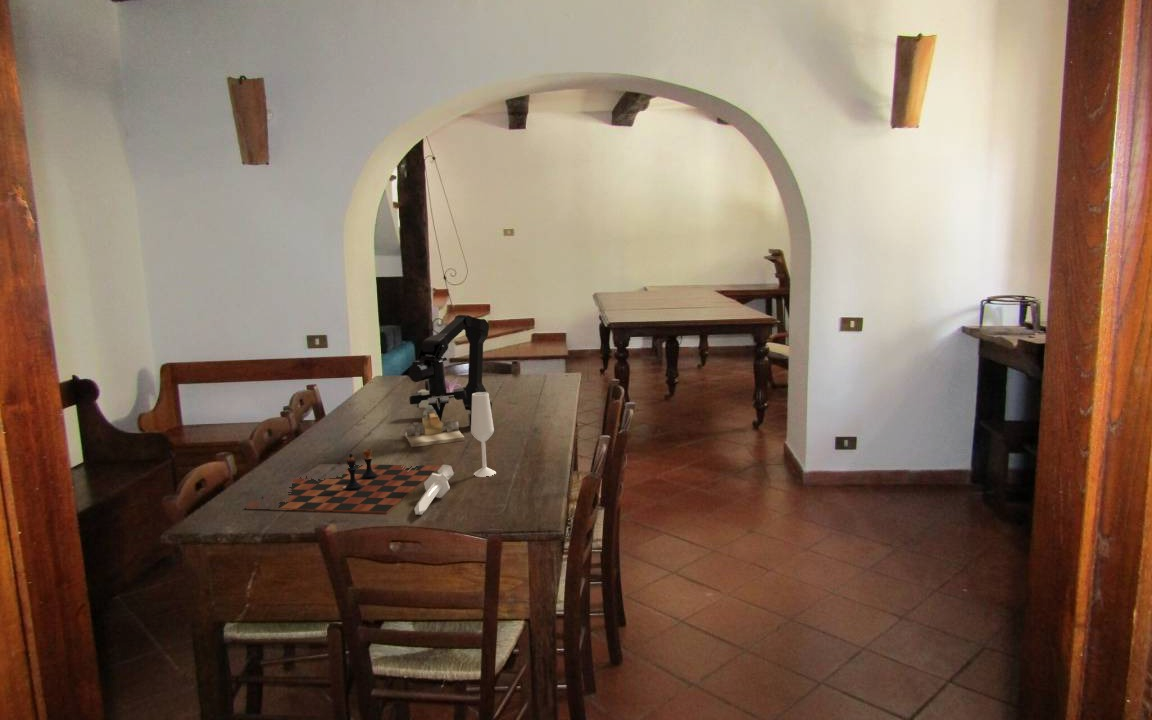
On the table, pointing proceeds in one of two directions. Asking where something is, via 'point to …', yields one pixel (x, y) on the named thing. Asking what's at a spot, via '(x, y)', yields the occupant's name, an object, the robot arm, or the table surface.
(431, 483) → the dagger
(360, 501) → the chessboard
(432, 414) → the valve lever
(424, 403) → the pneumatic valve
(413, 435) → the valve plank
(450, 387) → the lily
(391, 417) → the table surface
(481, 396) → the champagne flute
